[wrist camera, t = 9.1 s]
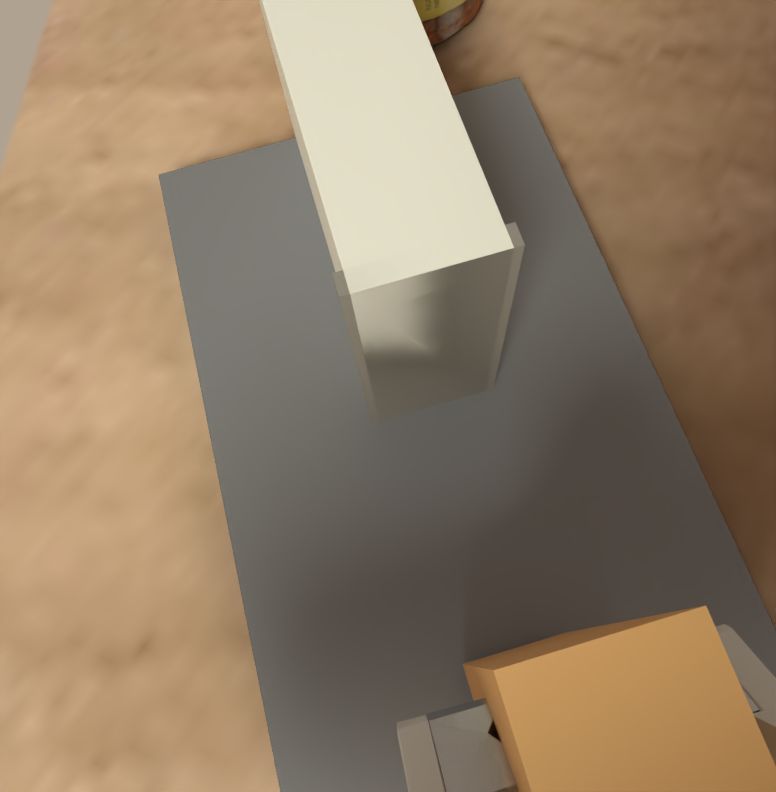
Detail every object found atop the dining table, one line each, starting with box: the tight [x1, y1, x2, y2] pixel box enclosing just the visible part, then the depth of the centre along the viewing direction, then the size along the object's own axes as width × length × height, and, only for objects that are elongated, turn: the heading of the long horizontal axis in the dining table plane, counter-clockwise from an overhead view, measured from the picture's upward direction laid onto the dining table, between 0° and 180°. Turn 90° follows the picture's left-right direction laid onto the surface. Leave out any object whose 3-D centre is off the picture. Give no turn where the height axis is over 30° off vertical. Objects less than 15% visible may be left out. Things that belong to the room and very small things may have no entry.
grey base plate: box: [159, 0, 776, 792], centre depth 15 cm, size 12×24×8 cm, turn 16°
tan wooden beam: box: [463, 606, 776, 792], centre depth 11 cm, size 2×3×9 cm
